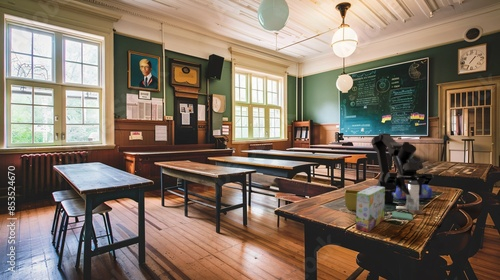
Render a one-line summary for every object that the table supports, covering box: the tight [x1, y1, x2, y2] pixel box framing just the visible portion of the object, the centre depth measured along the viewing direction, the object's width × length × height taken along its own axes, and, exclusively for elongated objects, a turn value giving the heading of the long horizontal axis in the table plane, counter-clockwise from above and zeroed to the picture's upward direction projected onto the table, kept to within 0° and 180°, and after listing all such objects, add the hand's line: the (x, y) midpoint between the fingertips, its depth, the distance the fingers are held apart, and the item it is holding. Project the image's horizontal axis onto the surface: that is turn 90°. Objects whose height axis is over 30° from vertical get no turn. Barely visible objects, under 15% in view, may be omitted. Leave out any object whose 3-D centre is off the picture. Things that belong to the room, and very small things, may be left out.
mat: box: [391, 211, 414, 221], centre depth 115 cm, size 8×8×1 cm
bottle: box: [405, 180, 420, 211], centre depth 108 cm, size 5×5×12 cm
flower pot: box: [343, 189, 361, 212], centre depth 126 cm, size 9×9×9 cm
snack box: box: [355, 185, 385, 233], centre depth 104 cm, size 21×6×15 cm, turn 137°
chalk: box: [395, 205, 409, 211], centre depth 126 cm, size 7×2×2 cm, turn 80°
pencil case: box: [392, 183, 434, 200], centre depth 148 cm, size 22×9×10 cm, turn 95°
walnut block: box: [408, 204, 424, 215], centre depth 120 cm, size 4×4×4 cm
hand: (414, 194), depth 107 cm, fingers closed on bottle, 5 cm apart
